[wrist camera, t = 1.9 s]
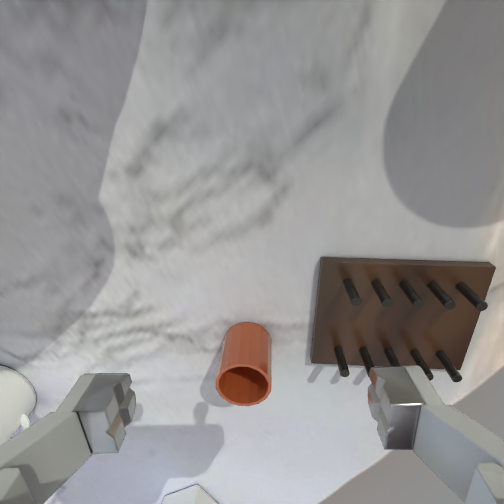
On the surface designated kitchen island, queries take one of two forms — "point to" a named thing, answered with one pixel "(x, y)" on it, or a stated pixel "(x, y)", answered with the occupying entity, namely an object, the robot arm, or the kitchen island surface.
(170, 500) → the milk carton
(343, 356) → the rack
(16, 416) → the mug
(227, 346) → the cup
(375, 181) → the kitchen island surface
